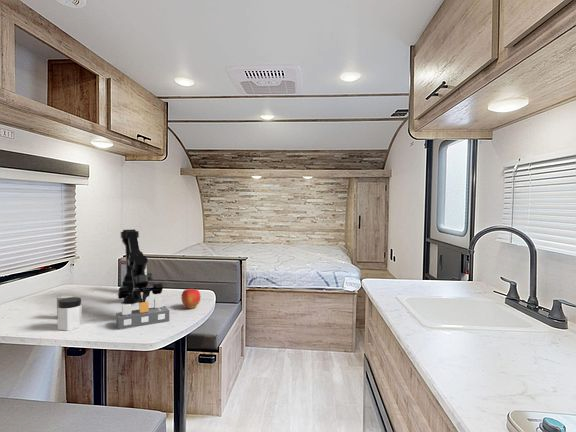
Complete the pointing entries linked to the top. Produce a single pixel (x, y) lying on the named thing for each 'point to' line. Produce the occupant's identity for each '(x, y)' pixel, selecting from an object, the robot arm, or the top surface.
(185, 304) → the apple
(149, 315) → the grey cube slider board
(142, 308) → the tab
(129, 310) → the tab
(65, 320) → the jar
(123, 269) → the cracker box
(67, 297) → the skincare box
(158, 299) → the tab
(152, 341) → the top surface
